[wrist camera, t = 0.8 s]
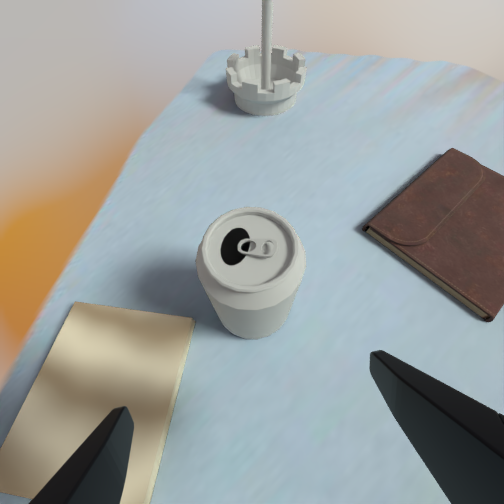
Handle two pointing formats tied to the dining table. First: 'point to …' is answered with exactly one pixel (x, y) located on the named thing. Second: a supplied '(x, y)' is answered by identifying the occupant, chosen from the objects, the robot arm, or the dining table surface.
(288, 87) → the flag stand
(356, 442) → the dining table surface
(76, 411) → the board
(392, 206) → the notebook
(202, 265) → the can
